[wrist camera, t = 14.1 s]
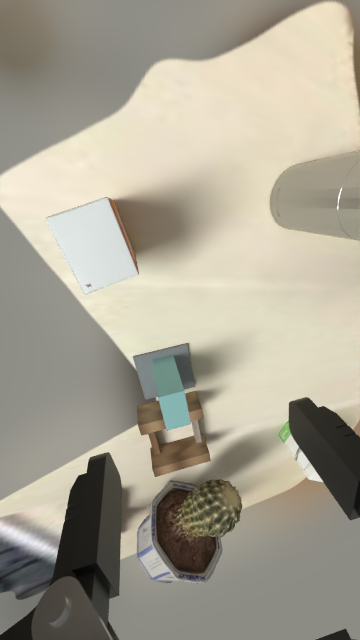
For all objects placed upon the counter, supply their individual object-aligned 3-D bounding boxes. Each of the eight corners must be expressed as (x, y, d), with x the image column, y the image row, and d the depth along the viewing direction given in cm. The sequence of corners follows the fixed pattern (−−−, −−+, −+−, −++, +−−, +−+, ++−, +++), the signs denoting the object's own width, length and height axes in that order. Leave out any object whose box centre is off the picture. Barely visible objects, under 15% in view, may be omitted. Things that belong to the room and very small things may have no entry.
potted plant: (196, 596, 58) (286, 564, 43) (121, 592, 53) (194, 554, 38) (191, 506, 72) (257, 458, 57) (131, 495, 67) (187, 439, 52)
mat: (186, 343, 47) (187, 344, 47) (194, 385, 51) (194, 386, 51) (133, 356, 46) (133, 357, 46) (145, 398, 50) (145, 399, 50)
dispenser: (195, 391, 52) (201, 408, 48) (204, 441, 59) (210, 460, 54) (137, 406, 51) (138, 426, 46) (152, 455, 57) (155, 477, 53)
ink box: (277, 434, 63) (307, 481, 52) (288, 419, 61) (322, 464, 51) (302, 440, 66) (336, 486, 55) (313, 426, 64) (350, 470, 54)
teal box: (173, 355, 47) (184, 390, 38) (179, 384, 50) (191, 423, 41) (151, 360, 47) (157, 397, 38) (159, 389, 50) (166, 430, 41)
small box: (136, 254, 39) (140, 276, 27) (96, 268, 39) (83, 296, 27) (113, 197, 35) (107, 195, 24) (70, 213, 35) (42, 218, 23)
